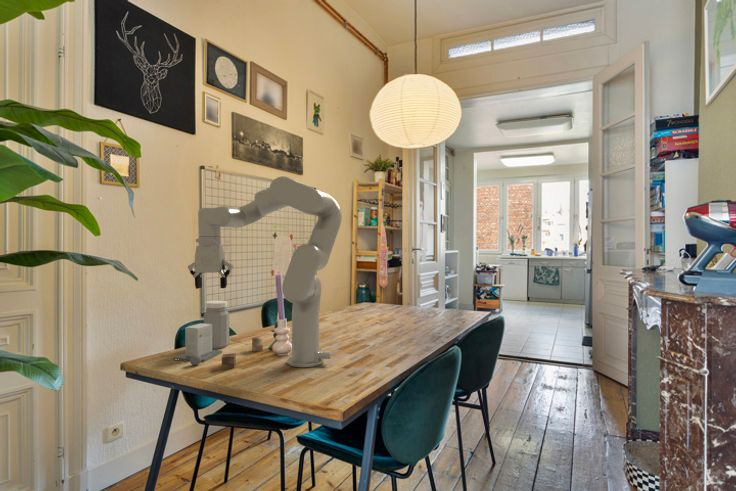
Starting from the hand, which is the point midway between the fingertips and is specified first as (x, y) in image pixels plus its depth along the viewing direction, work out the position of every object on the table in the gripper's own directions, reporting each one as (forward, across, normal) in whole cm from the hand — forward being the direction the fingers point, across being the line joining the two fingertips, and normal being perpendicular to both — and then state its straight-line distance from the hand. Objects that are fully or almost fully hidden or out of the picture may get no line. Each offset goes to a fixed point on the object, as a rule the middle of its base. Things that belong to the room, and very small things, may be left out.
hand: (211, 288), depth 150 cm
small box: (+24, -5, -1) cm, 25 cm away
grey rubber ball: (+25, 0, -11) cm, 27 cm away
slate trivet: (+25, -5, -1) cm, 25 cm away
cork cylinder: (+25, +13, +10) cm, 30 cm away
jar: (+25, -6, +13) cm, 29 cm away
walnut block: (+26, +12, -11) cm, 30 cm away
